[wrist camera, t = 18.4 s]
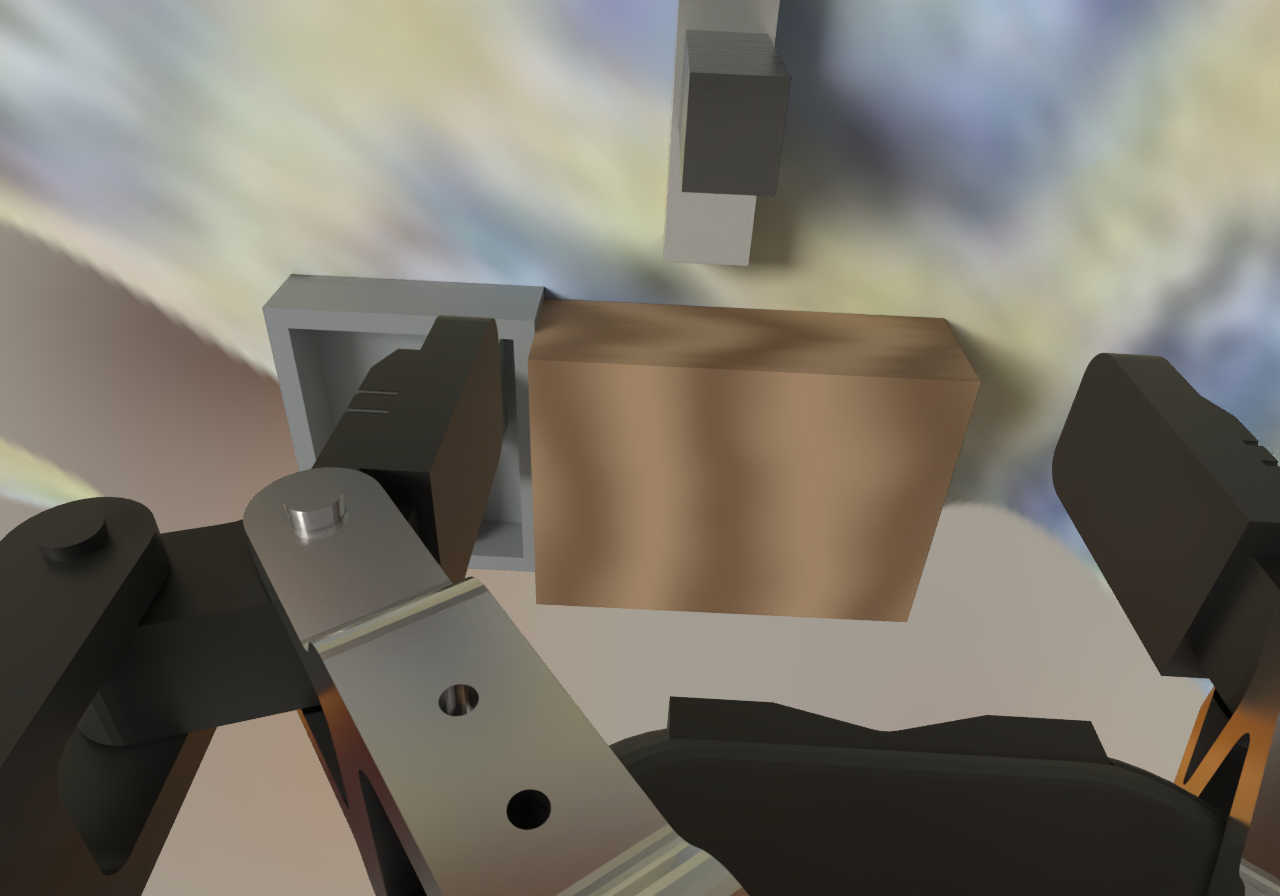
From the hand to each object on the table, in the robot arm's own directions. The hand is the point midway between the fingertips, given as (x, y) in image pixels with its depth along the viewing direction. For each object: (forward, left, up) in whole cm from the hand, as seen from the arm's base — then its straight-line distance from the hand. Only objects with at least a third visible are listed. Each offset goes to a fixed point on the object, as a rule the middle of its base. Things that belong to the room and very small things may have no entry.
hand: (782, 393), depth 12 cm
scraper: (0, 0, -22) cm, 22 cm away
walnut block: (-2, +15, -22) cm, 26 cm away
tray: (+11, +15, -22) cm, 28 cm away
